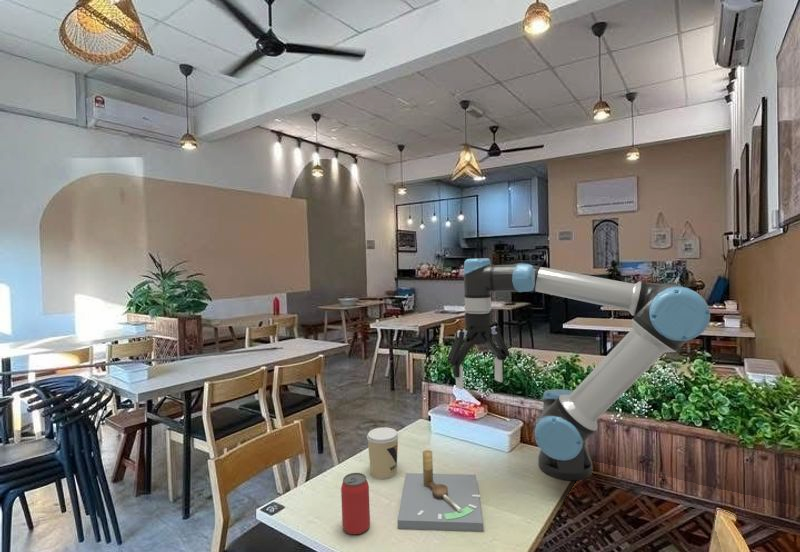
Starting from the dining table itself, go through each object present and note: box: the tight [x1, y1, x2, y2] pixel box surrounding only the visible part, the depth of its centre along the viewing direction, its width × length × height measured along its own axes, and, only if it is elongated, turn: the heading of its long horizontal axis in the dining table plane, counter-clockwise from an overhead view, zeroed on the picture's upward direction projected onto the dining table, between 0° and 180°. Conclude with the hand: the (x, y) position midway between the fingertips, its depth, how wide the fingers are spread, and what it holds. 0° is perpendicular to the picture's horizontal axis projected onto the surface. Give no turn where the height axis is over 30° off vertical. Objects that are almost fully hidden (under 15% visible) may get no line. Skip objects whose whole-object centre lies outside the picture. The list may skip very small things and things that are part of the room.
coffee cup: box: [366, 427, 399, 480], centre depth 127 cm, size 9×9×12 cm
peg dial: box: [422, 449, 461, 512], centre depth 109 cm, size 16×4×9 cm, turn 27°
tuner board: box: [397, 472, 484, 532], centre depth 110 cm, size 20×22×2 cm
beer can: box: [340, 472, 371, 535], centre depth 101 cm, size 7×7×12 cm
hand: (479, 384), depth 123 cm, fingers open, 13 cm apart
